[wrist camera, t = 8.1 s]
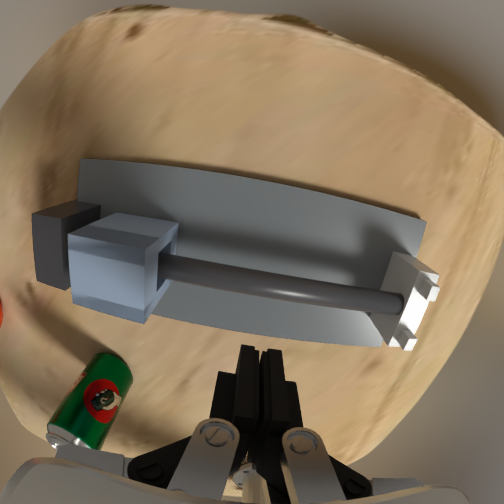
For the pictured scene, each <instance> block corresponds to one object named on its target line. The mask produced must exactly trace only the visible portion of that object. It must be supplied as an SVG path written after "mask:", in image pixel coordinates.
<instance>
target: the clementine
mask: <svg viewBox="0 0 504 504" xmlns="http://www.w3.org/2000/svg"><path fill="white" fill-rule="evenodd" d="M2 317H3V313H2V307H1V303H0V327H1V324H2Z"/></svg>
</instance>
